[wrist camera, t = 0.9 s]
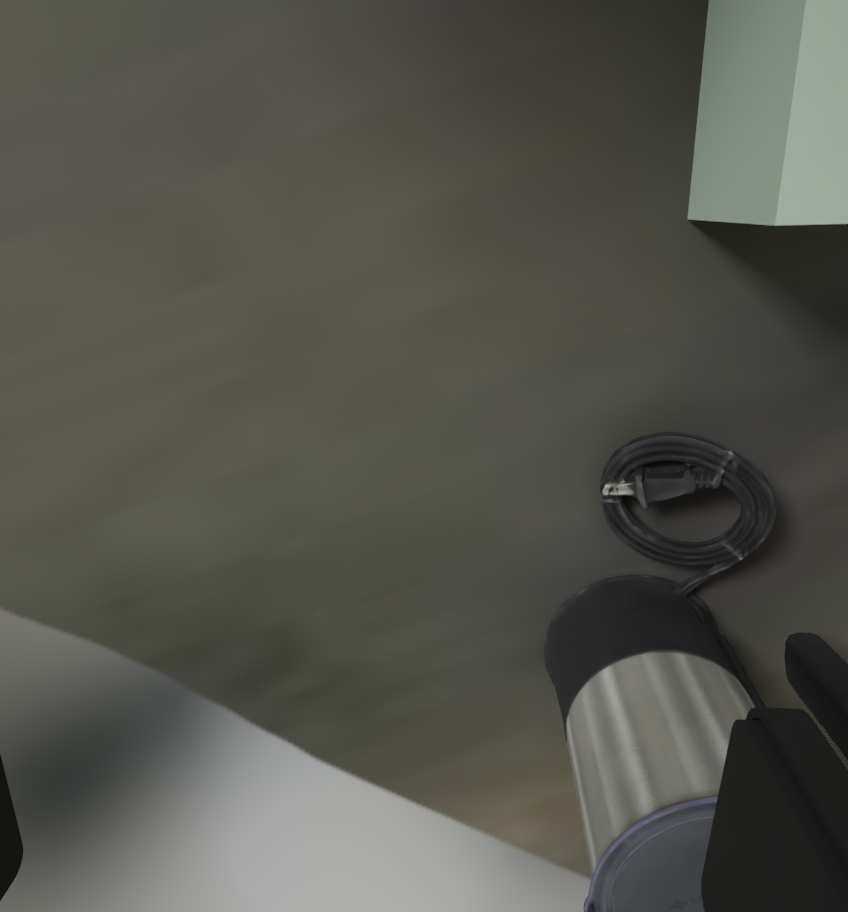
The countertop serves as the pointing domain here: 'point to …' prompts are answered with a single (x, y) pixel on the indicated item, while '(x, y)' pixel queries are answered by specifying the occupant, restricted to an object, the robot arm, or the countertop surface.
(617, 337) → the countertop surface
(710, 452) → the milk frother
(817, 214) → the door panel
